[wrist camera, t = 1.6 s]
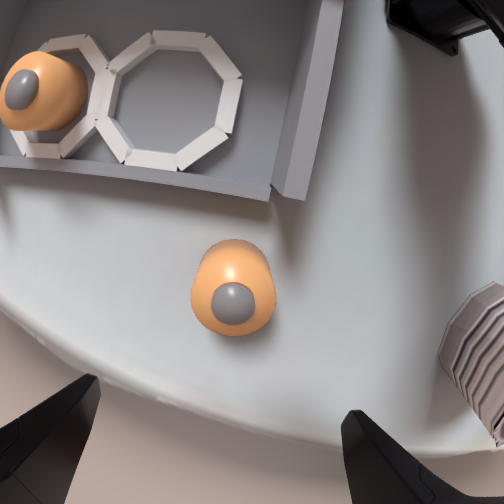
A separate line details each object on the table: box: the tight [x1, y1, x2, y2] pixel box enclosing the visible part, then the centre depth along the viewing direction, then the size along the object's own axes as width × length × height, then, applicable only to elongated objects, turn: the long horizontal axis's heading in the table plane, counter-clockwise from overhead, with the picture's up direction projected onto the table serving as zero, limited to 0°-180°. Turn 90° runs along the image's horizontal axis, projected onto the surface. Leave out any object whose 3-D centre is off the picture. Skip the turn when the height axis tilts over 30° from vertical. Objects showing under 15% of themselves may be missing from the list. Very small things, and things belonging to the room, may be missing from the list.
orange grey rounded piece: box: [191, 239, 276, 336], centre depth 18 cm, size 5×5×5 cm
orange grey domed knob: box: [0, 51, 88, 131], centre depth 12 cm, size 5×5×5 cm
